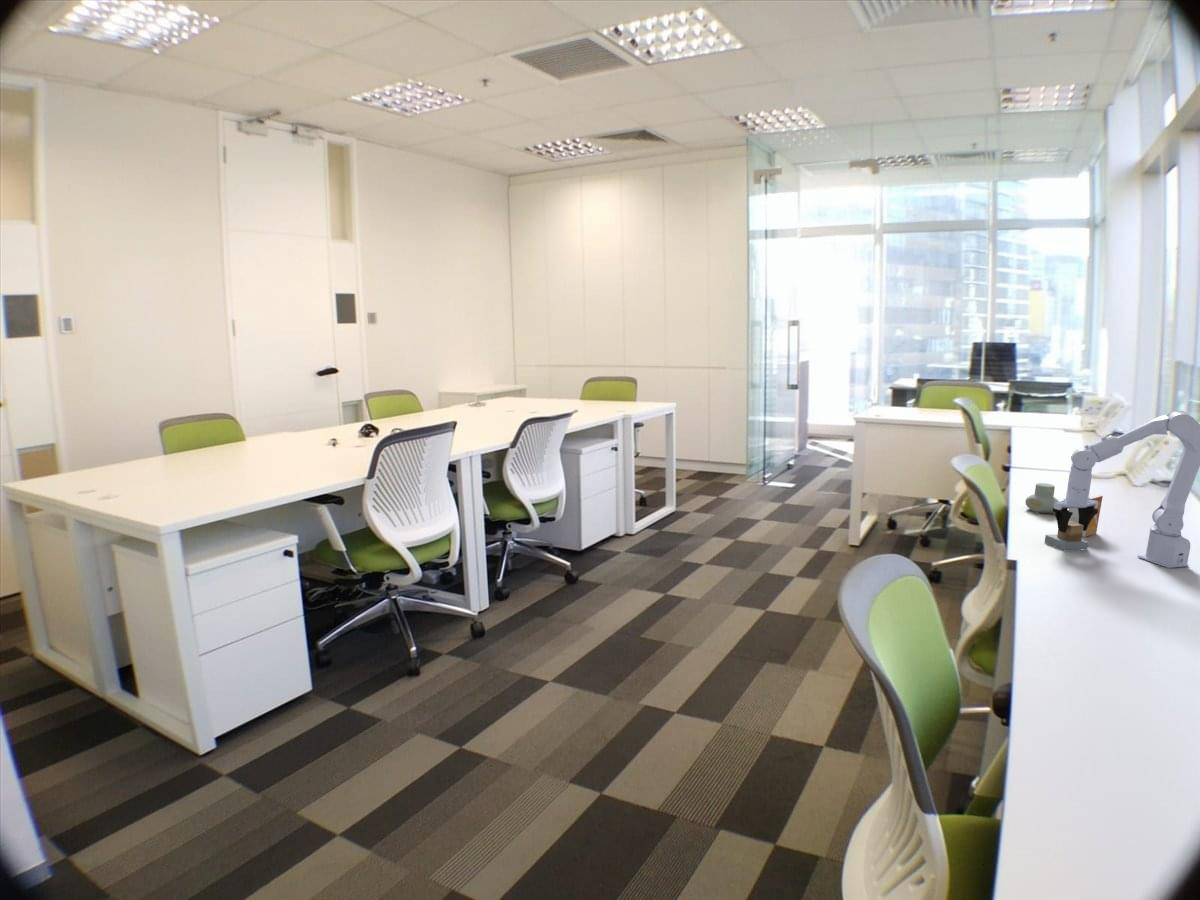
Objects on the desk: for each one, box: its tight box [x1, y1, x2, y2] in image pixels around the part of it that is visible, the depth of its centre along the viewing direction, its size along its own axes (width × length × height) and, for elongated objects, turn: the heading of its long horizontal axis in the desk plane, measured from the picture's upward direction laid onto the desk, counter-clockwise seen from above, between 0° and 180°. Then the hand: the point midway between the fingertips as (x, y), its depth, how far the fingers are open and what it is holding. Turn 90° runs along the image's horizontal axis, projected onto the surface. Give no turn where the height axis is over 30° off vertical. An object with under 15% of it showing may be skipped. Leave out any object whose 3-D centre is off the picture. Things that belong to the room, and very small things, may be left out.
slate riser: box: [1044, 533, 1089, 551], centre depth 227 cm, size 8×8×3 cm
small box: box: [1068, 492, 1103, 538], centre depth 239 cm, size 8×6×13 cm
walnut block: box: [1057, 521, 1084, 542], centre depth 225 cm, size 4×4×5 cm
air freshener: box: [1025, 482, 1060, 514], centre depth 264 cm, size 11×8×10 cm
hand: (1072, 530), depth 225 cm, fingers open, 7 cm apart
